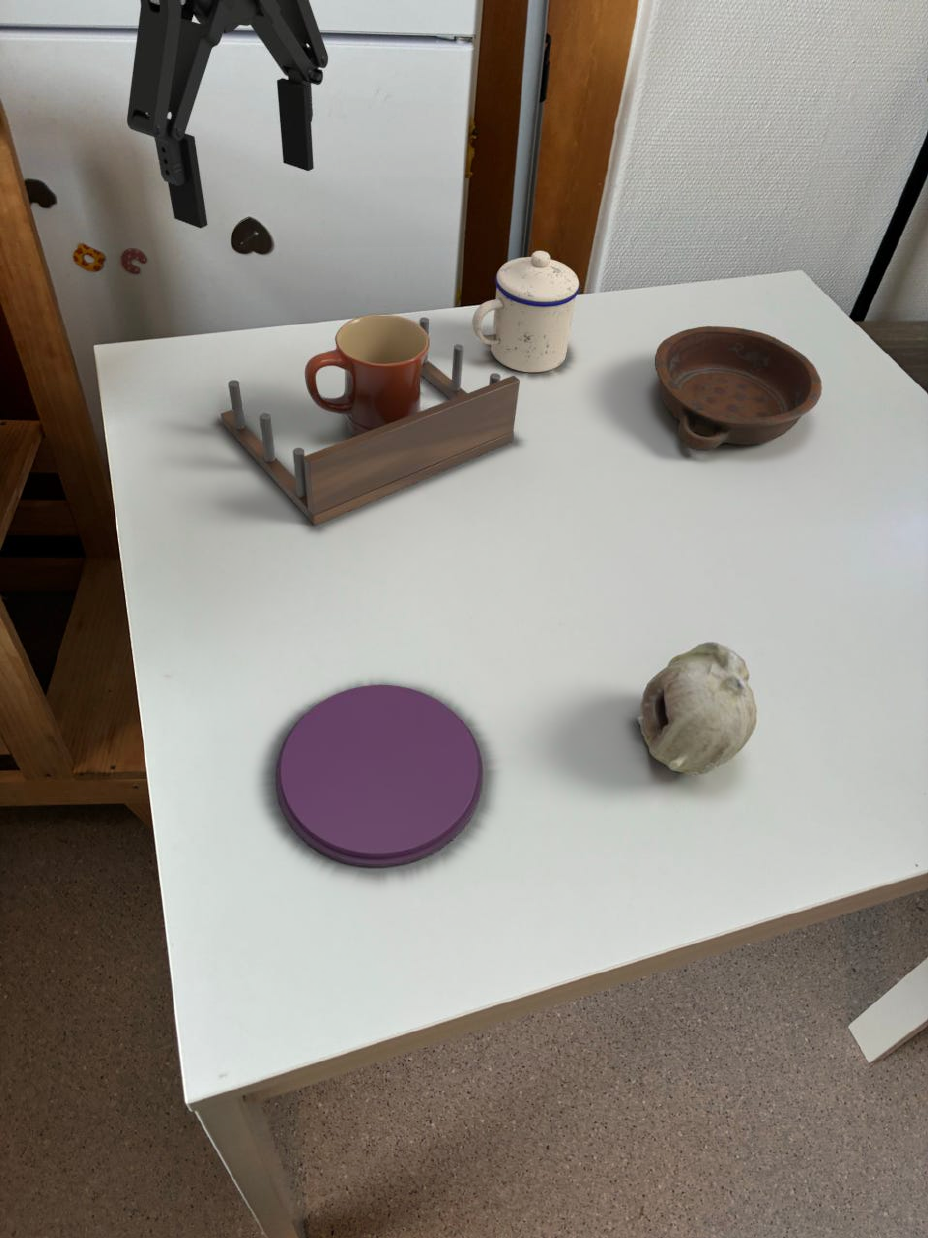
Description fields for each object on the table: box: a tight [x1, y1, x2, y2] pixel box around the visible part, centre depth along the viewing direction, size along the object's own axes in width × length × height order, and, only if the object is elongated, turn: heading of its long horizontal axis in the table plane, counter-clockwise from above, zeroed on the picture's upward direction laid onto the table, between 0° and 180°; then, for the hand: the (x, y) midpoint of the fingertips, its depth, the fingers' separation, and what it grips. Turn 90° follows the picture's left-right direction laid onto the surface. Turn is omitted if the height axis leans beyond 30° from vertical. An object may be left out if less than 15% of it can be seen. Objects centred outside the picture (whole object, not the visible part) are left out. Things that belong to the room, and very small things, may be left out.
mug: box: [304, 313, 431, 437], centre depth 87 cm, size 12×9×10 cm
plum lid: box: [274, 684, 484, 868], centre depth 65 cm, size 15×15×1 cm
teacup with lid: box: [471, 250, 581, 373], centre depth 98 cm, size 12×9×12 cm
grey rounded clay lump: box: [637, 641, 758, 777], centre depth 65 cm, size 9×8×10 cm
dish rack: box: [220, 317, 521, 526], centre depth 88 cm, size 18×23×7 cm
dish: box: [654, 325, 823, 452], centre depth 96 cm, size 18×22×5 cm
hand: (247, 192), depth 74 cm, fingers open, 13 cm apart
